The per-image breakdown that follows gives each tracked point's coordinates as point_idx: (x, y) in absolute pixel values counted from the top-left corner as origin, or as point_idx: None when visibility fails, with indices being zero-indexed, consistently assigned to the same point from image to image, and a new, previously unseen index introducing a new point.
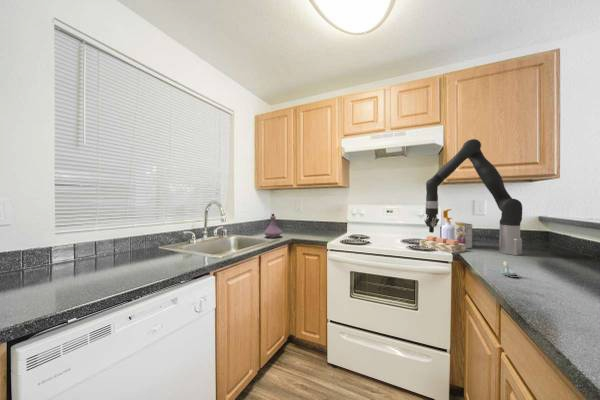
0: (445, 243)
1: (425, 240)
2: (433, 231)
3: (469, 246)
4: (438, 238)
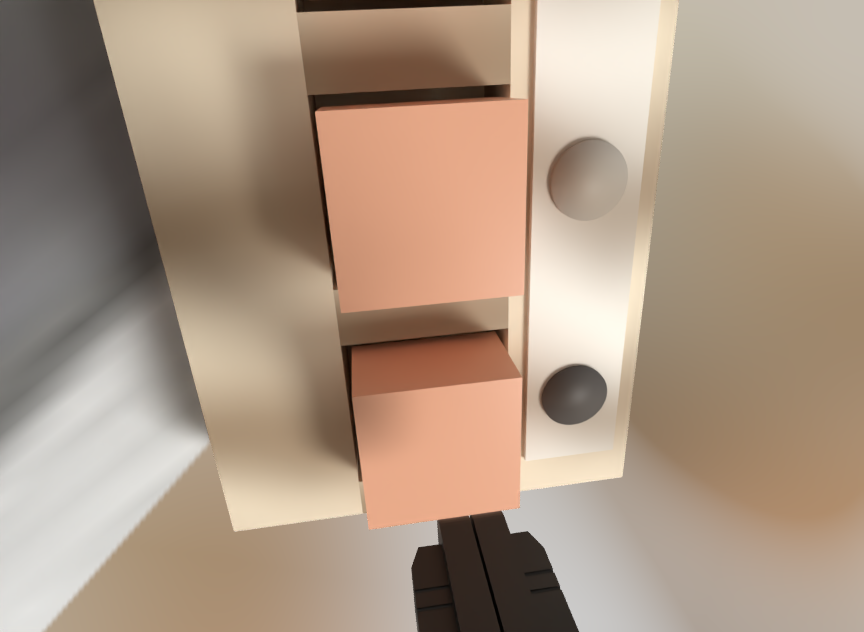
0: (475, 35)
1: (603, 402)
2: (449, 537)
3: None
4: (503, 243)
